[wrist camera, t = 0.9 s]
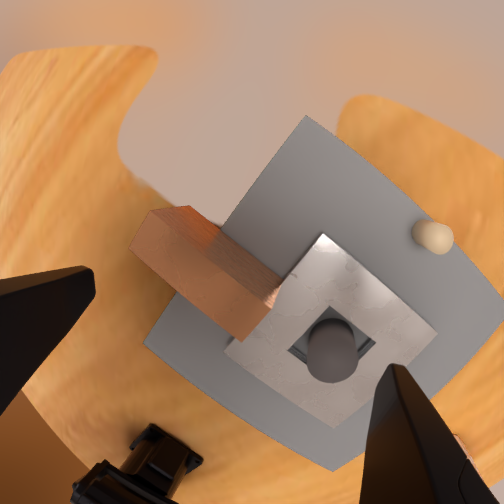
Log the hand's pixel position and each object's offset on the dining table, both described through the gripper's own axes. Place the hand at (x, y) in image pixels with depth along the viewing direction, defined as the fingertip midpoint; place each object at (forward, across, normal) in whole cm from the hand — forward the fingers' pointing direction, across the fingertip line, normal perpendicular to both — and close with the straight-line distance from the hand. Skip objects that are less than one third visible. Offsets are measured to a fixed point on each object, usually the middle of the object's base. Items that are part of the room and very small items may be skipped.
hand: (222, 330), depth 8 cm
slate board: (+12, -4, +7) cm, 14 cm away
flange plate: (+10, -1, +5) cm, 12 cm away
